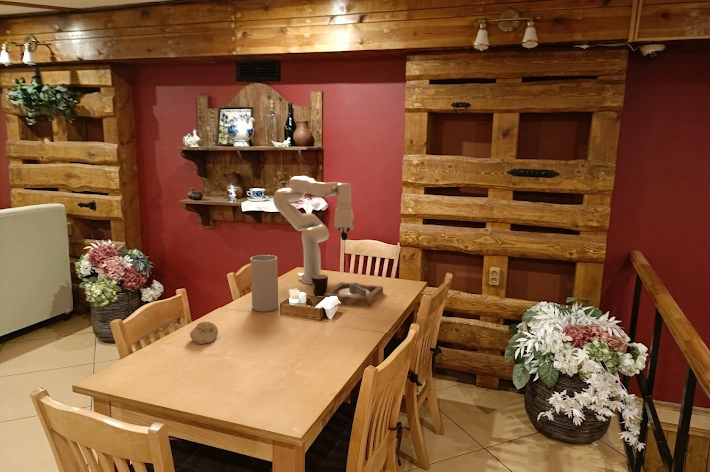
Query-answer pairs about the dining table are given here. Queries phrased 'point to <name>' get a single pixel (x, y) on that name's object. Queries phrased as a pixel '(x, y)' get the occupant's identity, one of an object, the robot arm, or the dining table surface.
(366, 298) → the dial housing
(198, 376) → the dining table surface
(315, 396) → the dining table surface
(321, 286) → the coffee mug
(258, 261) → the cylinder vase
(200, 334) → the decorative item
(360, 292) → the dial
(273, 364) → the dining table surface
